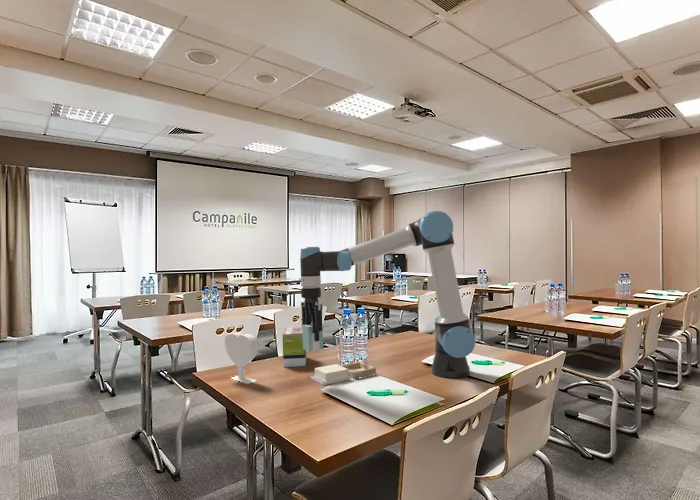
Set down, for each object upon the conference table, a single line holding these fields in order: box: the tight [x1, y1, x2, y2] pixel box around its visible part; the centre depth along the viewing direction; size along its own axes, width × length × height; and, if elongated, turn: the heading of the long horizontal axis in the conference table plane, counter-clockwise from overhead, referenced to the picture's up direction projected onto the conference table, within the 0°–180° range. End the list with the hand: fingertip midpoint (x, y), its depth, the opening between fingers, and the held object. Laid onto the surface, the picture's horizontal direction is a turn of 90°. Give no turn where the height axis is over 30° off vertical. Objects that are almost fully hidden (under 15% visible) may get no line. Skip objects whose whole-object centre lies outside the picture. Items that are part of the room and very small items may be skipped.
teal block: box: [301, 324, 324, 352], centre depth 154 cm, size 5×6×9 cm
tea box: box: [282, 326, 307, 368], centre depth 183 cm, size 15×10×15 cm, turn 5°
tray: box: [341, 361, 377, 380], centre depth 164 cm, size 12×11×3 cm
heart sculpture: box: [224, 332, 259, 385], centre depth 159 cm, size 16×5×18 cm, turn 56°
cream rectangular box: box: [310, 363, 351, 386], centre depth 158 cm, size 10×12×4 cm
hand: (312, 348), depth 153 cm, fingers closed on teal block, 5 cm apart
